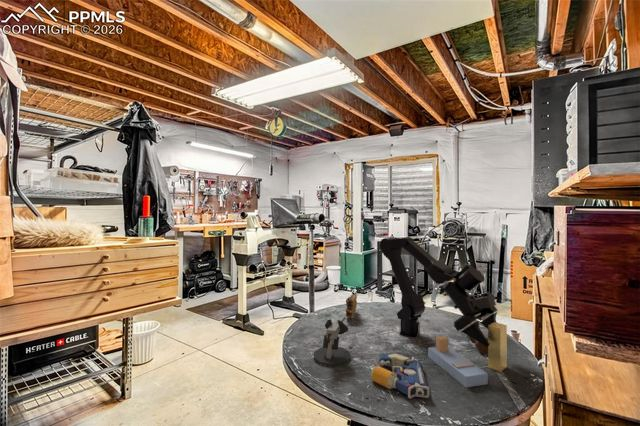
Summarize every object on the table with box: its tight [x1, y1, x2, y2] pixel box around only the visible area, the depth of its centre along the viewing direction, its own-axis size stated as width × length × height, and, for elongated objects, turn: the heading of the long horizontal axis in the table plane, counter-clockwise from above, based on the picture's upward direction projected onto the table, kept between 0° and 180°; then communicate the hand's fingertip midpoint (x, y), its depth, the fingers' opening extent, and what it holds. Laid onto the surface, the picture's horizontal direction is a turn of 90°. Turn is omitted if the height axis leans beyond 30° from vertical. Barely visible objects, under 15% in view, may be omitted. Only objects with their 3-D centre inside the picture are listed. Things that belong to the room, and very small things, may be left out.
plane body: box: [427, 335, 489, 388], centre depth 93 cm, size 18×7×7 cm, turn 13°
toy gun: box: [371, 352, 430, 399], centre depth 88 cm, size 21×4×15 cm
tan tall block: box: [487, 321, 508, 373], centre depth 94 cm, size 4×4×13 cm
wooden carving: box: [345, 293, 358, 319], centre depth 139 cm, size 16×5×10 cm, turn 169°
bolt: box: [467, 335, 488, 355], centre depth 111 cm, size 6×5×15 cm
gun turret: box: [313, 315, 351, 368], centre depth 104 cm, size 13×20×13 cm, turn 161°
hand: (495, 342), depth 95 cm, fingers open, 9 cm apart
